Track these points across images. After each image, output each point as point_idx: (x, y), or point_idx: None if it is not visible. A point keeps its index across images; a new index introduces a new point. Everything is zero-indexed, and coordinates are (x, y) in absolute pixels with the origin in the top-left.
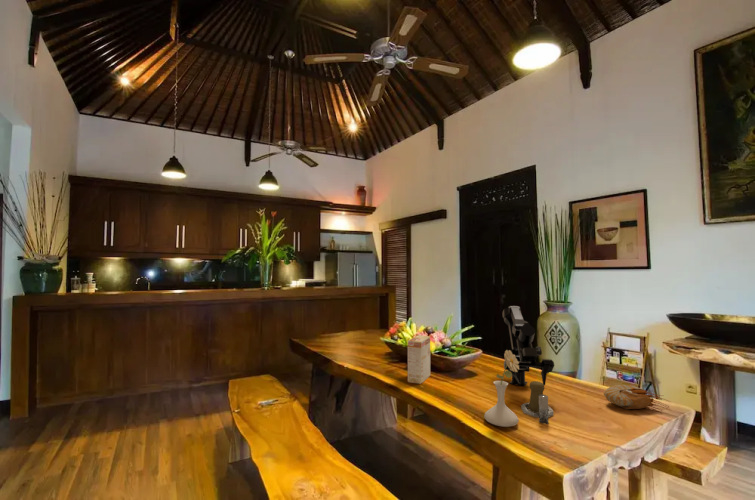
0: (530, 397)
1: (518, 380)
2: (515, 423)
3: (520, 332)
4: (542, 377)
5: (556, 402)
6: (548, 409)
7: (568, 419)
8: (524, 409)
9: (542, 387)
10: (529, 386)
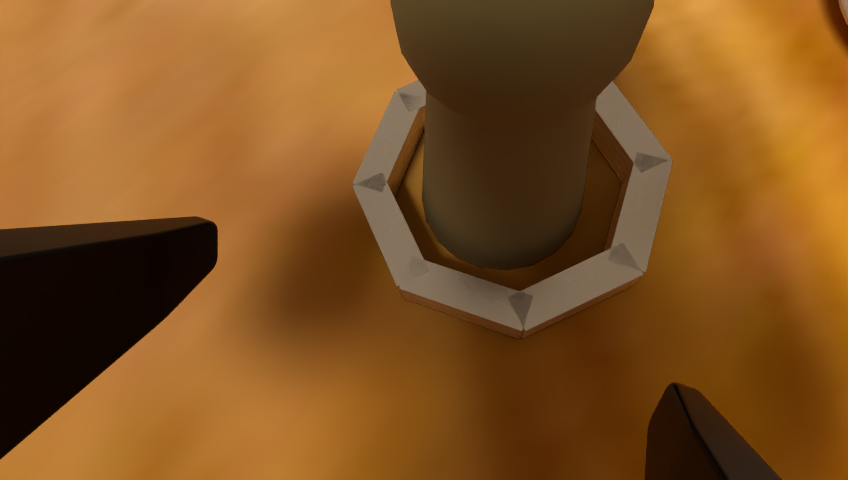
0: (590, 135)
1: (729, 432)
2: None
3: None
4: (41, 370)
5: (129, 391)
6: (407, 140)
7: (338, 41)
8: (666, 153)
9: None
10: (635, 48)
